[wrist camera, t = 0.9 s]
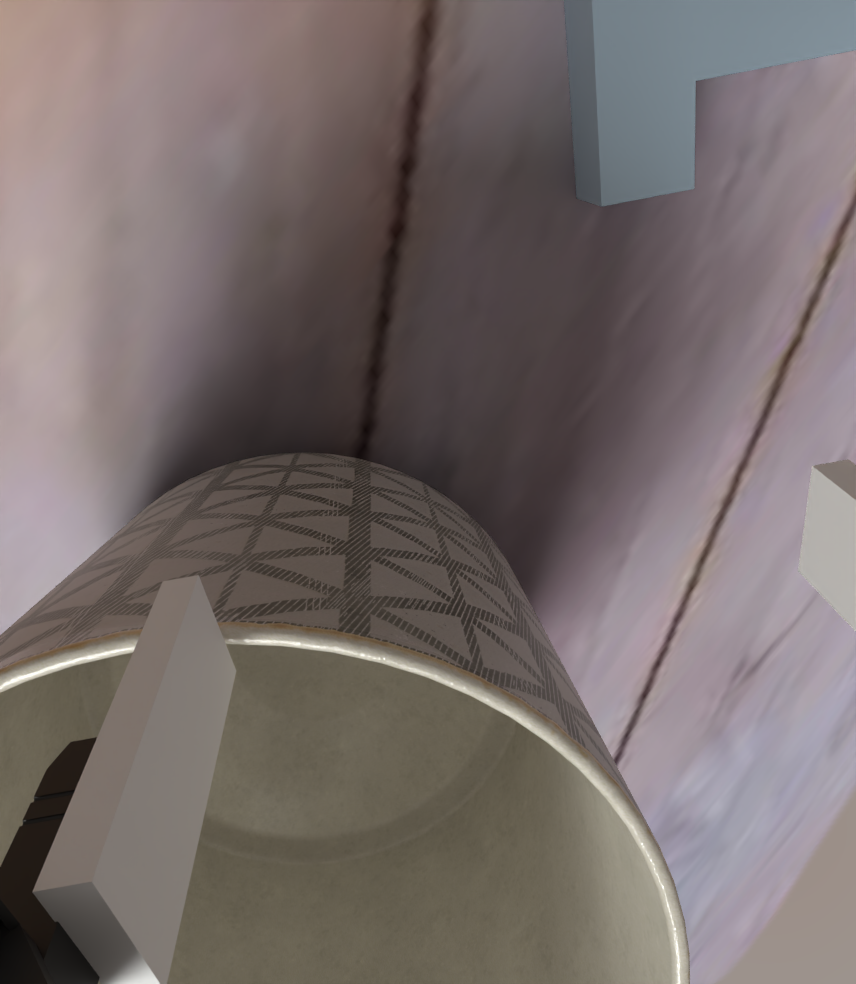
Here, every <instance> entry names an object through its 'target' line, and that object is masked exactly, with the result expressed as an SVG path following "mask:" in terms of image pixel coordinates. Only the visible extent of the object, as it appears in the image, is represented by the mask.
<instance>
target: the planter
mask: <svg viewBox="0 0 856 984" xmlns="http://www.w3.org/2000/svg"><path fill="white" fill-rule="evenodd" d="M196 575H199V577H200V580H201V583H202V585H203V588H204V590H205V593H206V595H207V598H208V600H209V603H210V605H211V608H212V610H213V613H214V616H215V618H216V621H217V623H218V626H219V628H220V631H221V633H222V636H223V638H224V641H225V643H226V646H227V649H228V651H229V654H230V656H231V659H232V661H233V664H234V666H235V669H236V675H235V679H234V684H233V688H232V693H231V697H230V702H229V706H228V711H227V715H226V720H225V724H224V729H223V733H222V738H221V742H220V747H219V751H218V756H217V760H216V765H215V769H214V774H213V778H212V783H211V787H210V792H209V796H208V801H207V805H206V810H205V814H204V819H203V823H202V828H201V832H200V837H199V841H198V846H197V850H196V855H195V859H194V864H193V868H192V873H191V878H190V882H189V887H188V891H187V896H186V900H185V905H184V909H183V914H182V918H181V923H180V927H179V932H178V936H177V941H176V945H175V950H174V954H173V959H172V963H171V968H170V972H169V977H168V981H167V984H690V961H689V948H688V941H687V934H686V927H685V920H684V916H683V913H682V909H681V905H680V902H679V898H678V894H677V891H676V887H675V884H674V880H673V878H672V876H671V873H670V871H669V868H668V866H667V864H666V861H665V859H664V856H663V854H662V852H661V849H660V847H659V845H658V843H657V841H656V839H655V838H654V836H653V834H652V832H651V830H650V828H649V826H648V824H647V822H646V821H645V819H644V817H643V815H642V813H641V811H640V809H639V807H638V806H637V804H636V802H635V800H634V798H633V796H632V794H631V792H630V790H629V789H628V787H627V785H626V783H625V781H624V779H623V777H622V775H621V774H620V772H619V770H618V768H617V766H616V764H615V762H614V760H613V759H612V757H611V755H610V753H609V751H608V749H607V747H606V745H605V743H604V742H603V740H602V738H601V736H600V734H599V732H598V730H597V728H596V727H595V725H594V723H593V721H592V719H591V717H590V715H589V713H588V712H587V710H586V708H585V706H584V704H583V702H582V700H581V698H580V696H579V695H578V693H577V691H576V689H575V687H574V685H573V683H572V681H571V680H570V678H569V676H568V674H567V672H566V670H565V668H564V666H563V664H562V663H561V661H560V659H559V657H558V655H557V653H556V651H555V649H554V648H553V646H552V644H551V642H550V640H549V638H548V636H547V634H546V633H545V631H544V629H543V627H542V625H541V623H540V621H539V619H538V617H537V616H536V614H535V612H534V610H533V608H532V606H531V604H530V602H529V601H528V599H527V597H526V595H525V593H524V591H523V589H522V587H521V586H520V584H519V582H518V580H517V578H516V576H515V574H514V573H513V571H512V569H511V567H510V565H509V564H508V562H507V560H506V558H505V557H504V555H503V554H502V552H501V551H500V550H499V548H498V547H497V545H496V544H495V543H494V541H493V540H492V539H491V538H490V536H489V535H488V534H487V533H486V532H485V531H484V530H483V528H482V527H481V526H480V525H479V524H478V523H477V522H476V521H475V520H474V519H473V518H472V517H471V516H469V515H468V514H467V513H466V512H465V511H464V510H463V509H462V508H461V507H459V506H458V505H457V504H455V503H454V502H453V501H451V500H450V499H449V498H447V497H446V496H445V495H443V494H442V493H440V492H438V491H437V490H435V489H433V488H432V487H430V486H428V485H427V484H425V483H424V482H421V481H419V480H417V479H415V478H413V477H411V476H409V475H407V474H405V473H403V472H400V471H397V470H395V469H392V468H389V467H386V466H384V465H381V464H377V463H374V462H370V461H366V460H362V459H358V458H354V457H347V456H341V455H335V454H324V453H308V452H306V453H281V454H273V455H265V456H258V457H253V458H249V459H244V460H240V461H236V462H232V463H229V464H226V465H223V466H220V467H217V468H214V469H211V470H209V471H207V472H204V473H202V474H200V475H198V476H195V477H193V478H191V479H189V480H187V481H185V482H183V483H182V484H180V485H178V486H176V487H175V488H173V489H171V490H169V491H168V492H166V493H165V494H164V495H162V496H161V497H159V498H158V499H157V500H155V501H154V502H152V503H151V504H150V505H148V506H147V507H146V508H145V509H144V510H143V511H142V512H140V513H139V514H138V515H137V516H136V517H135V518H134V519H132V520H131V521H130V522H129V523H128V524H127V525H126V526H124V527H123V528H122V529H121V530H120V531H119V532H118V533H116V534H115V535H114V536H113V537H112V538H111V539H110V540H108V541H107V542H106V543H105V544H104V545H103V546H102V547H101V548H99V549H98V550H97V551H96V552H95V553H94V554H93V555H91V556H90V557H89V558H88V559H87V560H86V561H85V562H83V563H82V564H81V565H80V566H79V567H78V568H77V569H75V570H74V571H73V572H72V573H71V574H70V575H69V576H67V577H66V578H65V579H64V580H63V581H62V582H61V583H59V584H58V585H57V586H56V587H55V588H54V589H53V590H52V591H50V592H49V593H48V594H47V595H46V596H45V597H44V598H42V599H41V600H40V601H39V602H38V603H37V604H36V605H34V606H33V607H32V608H31V609H30V610H29V611H28V612H26V613H25V614H24V615H23V616H22V617H21V618H20V619H18V620H17V621H16V622H15V623H14V624H13V625H12V626H10V627H9V628H8V629H7V630H6V631H5V632H4V633H3V634H1V635H0V866H1V864H2V862H3V860H4V858H5V856H6V854H7V852H8V850H9V847H10V845H11V843H12V841H13V839H14V837H15V835H16V833H17V831H18V829H19V826H22V825H23V821H22V820H23V818H24V816H25V814H26V812H27V810H28V808H29V805H30V803H32V802H34V795H35V793H36V791H37V789H38V787H39V784H40V782H41V780H42V778H43V776H44V774H45V772H46V770H47V768H48V767H49V766H50V765H51V764H52V762H53V761H54V760H55V759H56V758H57V757H58V756H59V754H60V753H61V752H62V751H63V750H64V749H65V748H66V746H67V745H68V744H69V743H70V742H73V741H78V740H84V739H90V738H95V737H98V734H99V732H100V730H101V727H102V725H103V723H104V720H105V718H106V715H107V713H108V711H109V708H110V706H111V703H112V701H113V699H114V696H115V694H116V692H117V689H118V687H119V684H120V682H121V680H122V677H123V675H124V673H125V670H126V668H127V665H128V663H129V661H130V658H131V656H132V653H133V651H134V649H135V646H136V644H137V642H138V639H139V637H140V634H141V632H142V630H143V627H144V625H145V623H146V620H147V618H148V615H149V613H150V611H151V608H152V606H153V603H154V601H155V599H156V596H157V594H158V592H159V589H160V587H161V584H162V582H163V581H168V580H173V579H179V578H185V577H190V576H196ZM98 984H101V983H100V981H99V982H98Z"/></svg>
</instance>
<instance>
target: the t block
mask: <svg viewBox="0 0 856 984" xmlns="http://www.w3.org/2000/svg"><path fill="white" fill-rule="evenodd" d="M564 8H565V24H566V40H567V56H568V71H569V87H570V103H571V119H572V134H573V150H574V166H575V182H576V198H577V199H579V200H583V201H586V202H589V203H592V204H595V205H598V206H601V207H603V206H608V205H614V204H619V203H624V202H629V201H634V200H640V199H645V198H650V197H655V196H660V195H666V194H671V193H676V192H681V191H686V190H692V189H694V184H695V100H696V81H699V80H704V79H709V78H714V77H720V76H725V75H730V74H735V73H740V72H745V71H751V70H756V69H761V68H766V67H771V66H776V65H782V64H787V63H792V62H797V61H802V60H807V59H813V58H818V57H823V56H828V55H833V54H838V53H844V52H849V51H854V50H856V0H564Z"/></svg>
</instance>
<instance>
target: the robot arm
mask: <svg viewBox="0 0 856 984" xmlns="http://www.w3.org/2000/svg"><path fill="white" fill-rule="evenodd" d="M798 572H799V573H800V574H801V575H802V576H803V577H804V578H805V579H806V580H807V581H808V582H809V583H810V584H811V585H812V586H813V587H814V588H815V589H816V590H817V592H818V593H819V594H820V595H821V596H822V597H823V598H824V599H825V600H826V601H827V602H828V603H829V604H830V605H831V606H832V607H833V608H834V609H835V610H836V612H837V613H838V614H839V615H840V616H841V617H842V618H843V619H844V620H845V621H846V622H847V623H848V624H849V625H850V626H851V627H852V628H853V629H854V630H855V632H856V465H855V464H854V463H852V462H851V461H849V460H843V461H837V462H832V463H826V464H820V465H815V466H812V472H811V479H810V486H809V494H808V501H807V509H806V516H805V523H804V531H803V538H802V546H801V553H800V560H799V568H798ZM235 675H236V669H235V666H234V664H233V661H232V659H231V656H230V654H229V651H228V649H227V646H226V643H225V641H224V638H223V636H222V633H221V631H220V628H219V626H218V623H217V621H216V618H215V616H214V613H213V610H212V608H211V605H210V603H209V600H208V598H207V595H206V593H205V590H204V588H203V585H202V583H201V580H200V577H199V575H196V576H190V577H185V578H179V579H173V580H168V581H163V582H162V584H161V587H160V589H159V592H158V594H157V596H156V599H155V601H154V603H153V606H152V608H151V611H150V613H149V615H148V618H147V620H146V623H145V625H144V627H143V630H142V632H141V634H140V637H139V639H138V642H137V644H136V646H135V649H134V651H133V653H132V656H131V658H130V661H129V663H128V665H127V668H126V670H125V673H124V675H123V677H122V680H121V682H120V684H119V687H118V689H117V692H116V694H115V696H114V699H113V701H112V703H111V706H110V708H109V711H108V713H107V715H106V718H105V720H104V723H103V725H102V727H101V730H100V732H99V734H98V737H95V738H90V739H84V740H78V741H73V742H70V743H69V744H68V745H67V746H66V748H65V749H64V750H63V751H62V752H61V753H60V754H59V756H58V757H57V758H56V759H55V760H54V761H53V762H52V764H51V765H50V766H49V767H48V768H47V770H46V772H45V774H44V776H43V778H42V780H41V782H40V784H39V787H38V789H37V791H36V793H35V795H34V802H32V803H30V805H29V808H28V810H27V812H26V814H25V816H24V818H23V820H22V821H23V825H22V826H19V829H18V831H17V833H16V835H15V837H14V839H13V841H12V843H11V845H10V847H9V850H8V852H7V854H6V856H5V858H4V860H3V862H2V864H1V866H0V984H98V982H99V981H100V983H101V984H167V981H168V977H169V972H170V968H171V963H172V959H173V954H174V950H175V945H176V941H177V936H178V932H179V927H180V923H181V918H182V914H183V909H184V905H185V900H186V896H187V891H188V887H189V882H190V878H191V873H192V868H193V864H194V859H195V855H196V850H197V846H198V841H199V837H200V832H201V828H202V823H203V819H204V814H205V810H206V805H207V801H208V796H209V792H210V787H211V783H212V778H213V774H214V769H215V765H216V760H217V756H218V751H219V747H220V742H221V738H222V733H223V729H224V724H225V720H226V715H227V711H228V706H229V702H230V697H231V693H232V688H233V684H234V679H235Z"/></svg>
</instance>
